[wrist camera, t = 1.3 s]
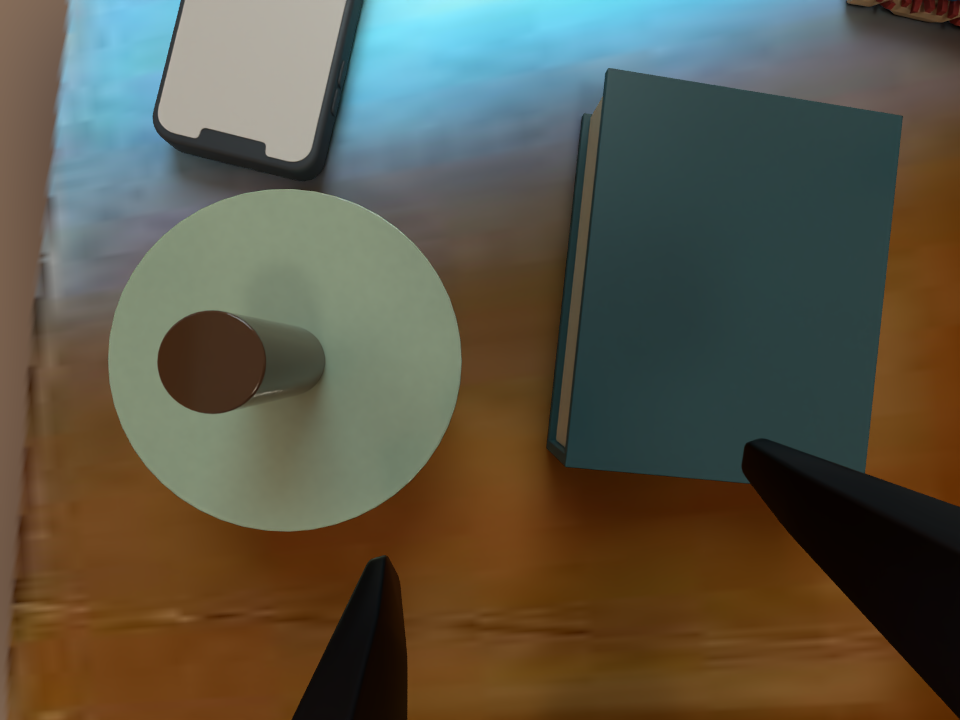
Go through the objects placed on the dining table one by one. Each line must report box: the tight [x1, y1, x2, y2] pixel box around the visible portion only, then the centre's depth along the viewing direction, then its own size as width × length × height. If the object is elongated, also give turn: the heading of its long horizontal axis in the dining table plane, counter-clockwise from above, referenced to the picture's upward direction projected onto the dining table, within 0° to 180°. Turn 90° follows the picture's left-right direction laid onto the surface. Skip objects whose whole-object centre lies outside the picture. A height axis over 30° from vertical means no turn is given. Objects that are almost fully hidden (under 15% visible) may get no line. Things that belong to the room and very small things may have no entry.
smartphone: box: [153, 0, 363, 181], centre depth 21 cm, size 9×2×16 cm
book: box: [546, 68, 903, 484], centre depth 22 cm, size 20×16×4 cm
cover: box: [108, 189, 462, 532], centre depth 13 cm, size 14×14×6 cm
